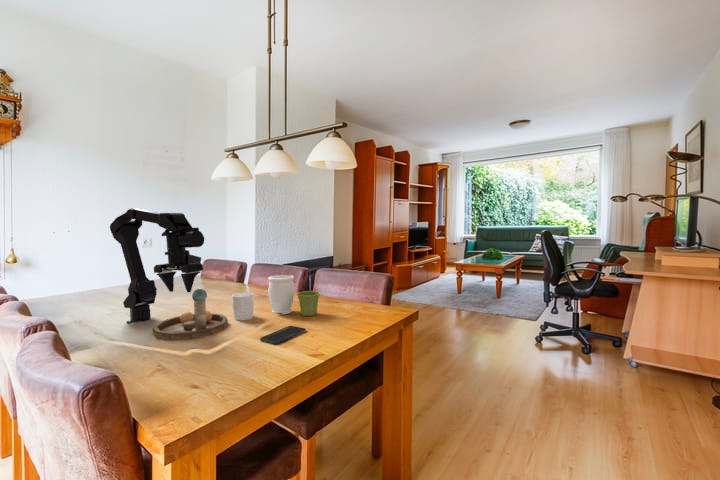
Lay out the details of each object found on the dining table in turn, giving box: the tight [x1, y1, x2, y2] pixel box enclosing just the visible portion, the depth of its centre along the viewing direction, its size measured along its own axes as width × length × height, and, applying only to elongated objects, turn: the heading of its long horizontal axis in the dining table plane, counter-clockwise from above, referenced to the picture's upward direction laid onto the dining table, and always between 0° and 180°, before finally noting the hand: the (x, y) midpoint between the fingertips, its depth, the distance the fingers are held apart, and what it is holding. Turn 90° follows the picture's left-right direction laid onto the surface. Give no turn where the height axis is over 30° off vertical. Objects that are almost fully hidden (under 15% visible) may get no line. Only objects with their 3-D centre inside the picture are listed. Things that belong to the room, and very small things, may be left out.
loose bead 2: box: [206, 310, 212, 323], centre depth 122 cm, size 4×4×4 cm
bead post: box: [191, 288, 209, 331], centre depth 111 cm, size 5×5×15 cm
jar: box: [267, 274, 295, 316], centre depth 139 cm, size 11×10×15 cm
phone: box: [259, 325, 307, 346], centre depth 111 cm, size 8×1×15 cm
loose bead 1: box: [179, 311, 194, 324], centre depth 121 cm, size 4×4×4 cm
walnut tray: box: [152, 312, 229, 341], centre depth 116 cm, size 22×22×3 cm
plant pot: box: [296, 290, 321, 317], centre depth 136 cm, size 9×9×9 cm
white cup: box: [231, 291, 255, 321], centre depth 128 cm, size 8×8×10 cm
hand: (180, 291), depth 120 cm, fingers open, 9 cm apart
